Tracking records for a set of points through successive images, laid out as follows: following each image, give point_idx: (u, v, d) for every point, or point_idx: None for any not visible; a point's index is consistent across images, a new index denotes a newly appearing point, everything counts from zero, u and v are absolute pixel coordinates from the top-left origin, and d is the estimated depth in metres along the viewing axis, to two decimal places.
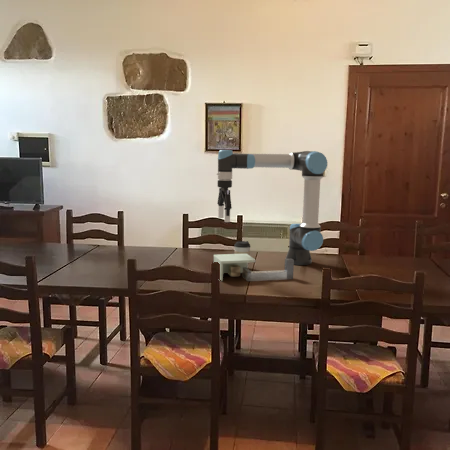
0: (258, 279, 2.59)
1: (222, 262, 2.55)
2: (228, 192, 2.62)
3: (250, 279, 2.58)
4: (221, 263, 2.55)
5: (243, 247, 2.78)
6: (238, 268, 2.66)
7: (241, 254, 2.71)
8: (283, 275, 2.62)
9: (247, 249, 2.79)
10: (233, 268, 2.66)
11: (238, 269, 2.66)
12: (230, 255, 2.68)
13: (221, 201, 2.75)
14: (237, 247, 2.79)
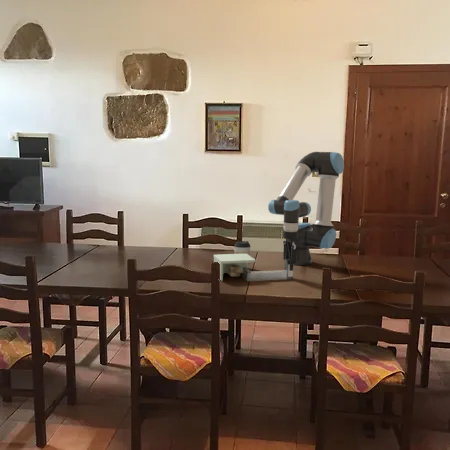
0: (258, 279, 2.59)
1: (222, 262, 2.55)
2: (295, 248, 2.56)
3: (250, 279, 2.58)
4: (221, 263, 2.55)
5: (243, 247, 2.78)
6: (238, 268, 2.66)
7: (241, 254, 2.71)
8: (283, 275, 2.62)
9: (247, 249, 2.79)
10: (233, 268, 2.66)
11: (238, 269, 2.66)
12: (230, 255, 2.68)
13: (287, 255, 2.65)
14: (237, 247, 2.79)
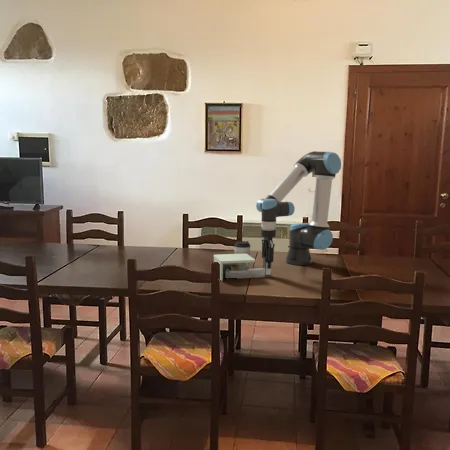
0: (236, 277, 2.62)
1: (222, 262, 2.55)
2: (272, 246, 2.59)
3: (228, 277, 2.61)
4: (221, 263, 2.55)
5: (243, 247, 2.78)
6: (238, 268, 2.66)
7: (241, 254, 2.71)
8: (261, 273, 2.65)
9: (247, 249, 2.79)
10: (233, 268, 2.66)
11: None
12: (230, 255, 2.68)
13: (265, 253, 2.68)
14: (237, 247, 2.79)
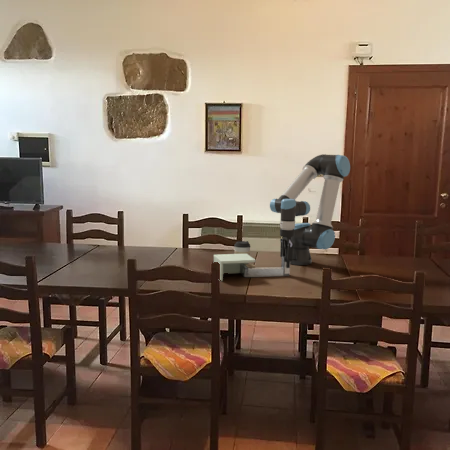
0: (255, 275, 2.65)
1: (222, 262, 2.55)
2: (291, 245, 2.62)
3: (247, 275, 2.64)
4: (221, 263, 2.55)
5: (243, 247, 2.78)
6: (253, 267, 2.68)
7: (241, 254, 2.71)
8: (279, 272, 2.68)
9: (247, 249, 2.79)
10: (248, 267, 2.68)
11: None
12: (230, 255, 2.68)
13: (284, 252, 2.71)
14: (237, 247, 2.79)
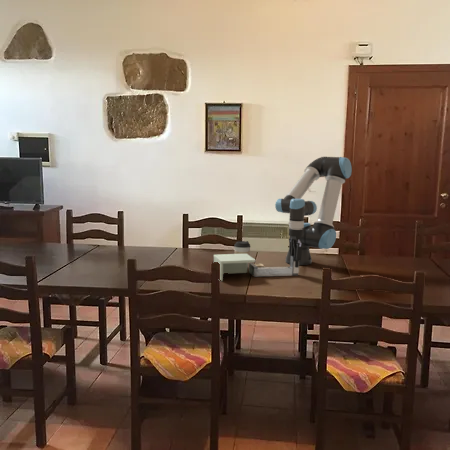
0: (264, 275, 2.66)
1: (222, 262, 2.55)
2: (300, 245, 2.63)
3: (256, 274, 2.64)
4: (221, 263, 2.55)
5: (243, 247, 2.78)
6: None
7: (241, 254, 2.71)
8: (288, 272, 2.69)
9: (247, 249, 2.79)
10: None
11: None
12: (230, 255, 2.68)
13: (293, 252, 2.72)
14: (237, 247, 2.79)
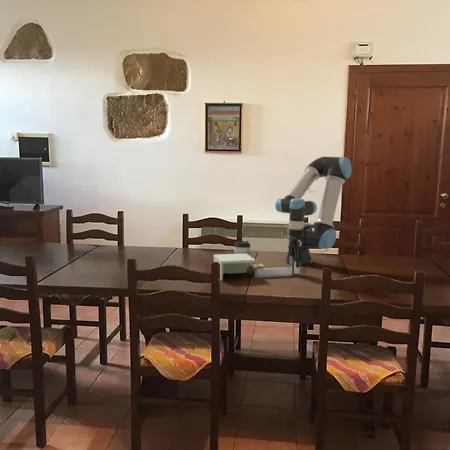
0: (264, 276, 2.66)
1: (222, 262, 2.55)
2: (301, 244, 2.63)
3: (256, 275, 2.65)
4: (221, 263, 2.55)
5: (243, 247, 2.78)
6: (262, 267, 2.69)
7: (241, 254, 2.71)
8: (288, 272, 2.69)
9: (247, 249, 2.79)
10: (257, 267, 2.69)
11: None
12: (230, 255, 2.68)
13: (292, 251, 2.72)
14: (237, 247, 2.79)
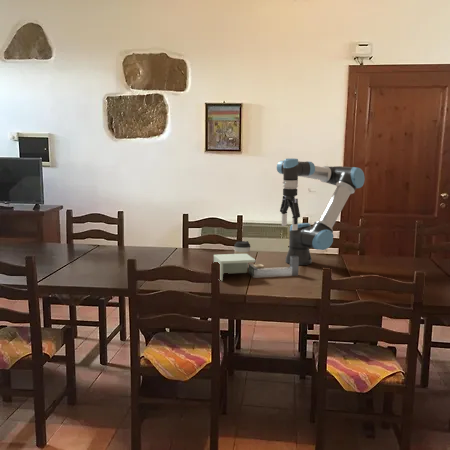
0: (264, 276, 2.66)
1: (222, 262, 2.55)
2: (296, 201, 2.64)
3: (256, 275, 2.65)
4: (221, 263, 2.55)
5: (243, 247, 2.78)
6: (262, 267, 2.69)
7: (241, 254, 2.71)
8: (288, 272, 2.69)
9: (247, 249, 2.79)
10: (257, 267, 2.69)
11: None
12: (230, 255, 2.68)
13: (285, 209, 2.76)
14: (237, 247, 2.79)
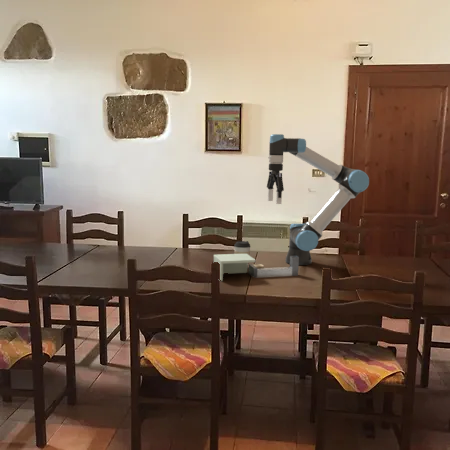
0: (264, 276, 2.66)
1: (222, 262, 2.55)
2: (280, 175, 2.71)
3: (256, 275, 2.65)
4: (221, 263, 2.55)
5: (243, 247, 2.78)
6: (262, 267, 2.69)
7: (241, 254, 2.71)
8: (288, 272, 2.69)
9: (247, 249, 2.79)
10: (257, 267, 2.69)
11: None
12: (230, 255, 2.68)
13: (271, 184, 2.84)
14: (237, 247, 2.79)
